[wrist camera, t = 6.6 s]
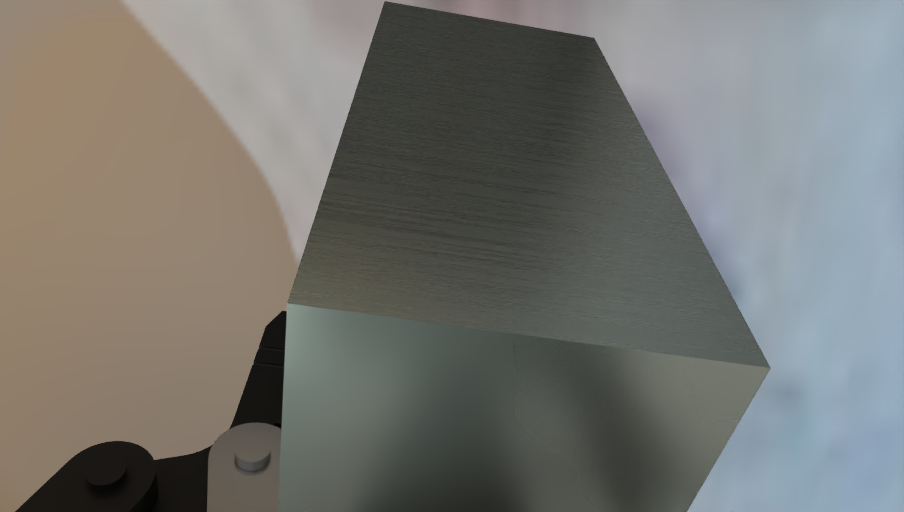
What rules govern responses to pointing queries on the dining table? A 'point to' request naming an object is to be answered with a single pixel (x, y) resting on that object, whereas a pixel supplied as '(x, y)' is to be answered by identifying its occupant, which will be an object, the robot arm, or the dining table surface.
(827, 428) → the dining table surface
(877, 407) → the dining table surface
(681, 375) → the grey-green rectangular block
